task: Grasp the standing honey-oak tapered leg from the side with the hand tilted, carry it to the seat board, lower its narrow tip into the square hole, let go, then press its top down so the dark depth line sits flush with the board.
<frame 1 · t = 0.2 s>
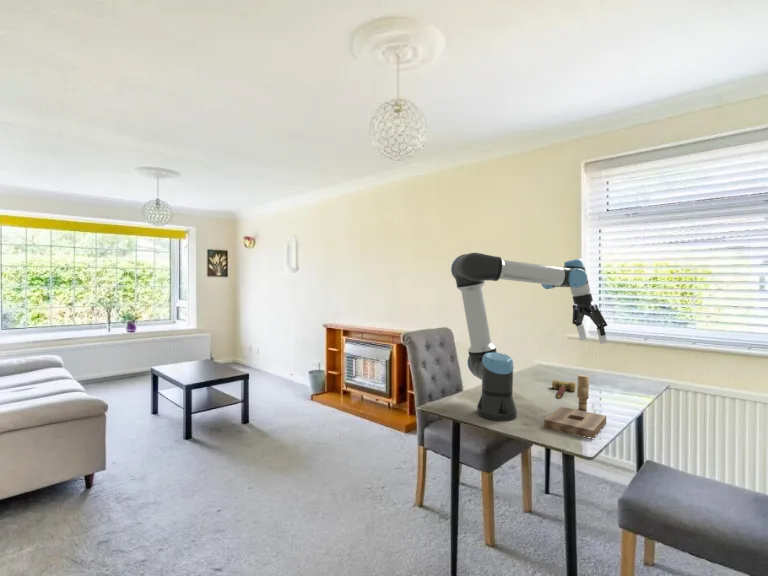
hand: (593, 341, 175), 27 cm above the table, tool tilted 15°, fingers open, 13 cm apart
seat board: (575, 425, 146), on the table
peg: (582, 409, 165), on the table
gavel: (561, 394, 189), on the table
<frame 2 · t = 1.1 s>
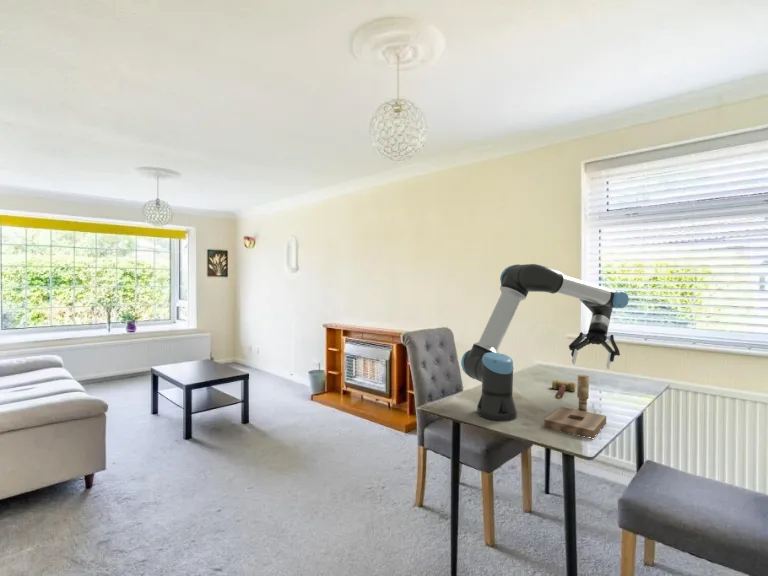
hand: (590, 364, 173), 17 cm above the table, tool tilted 45°, fingers open, 13 cm apart
nothing on the table moved.
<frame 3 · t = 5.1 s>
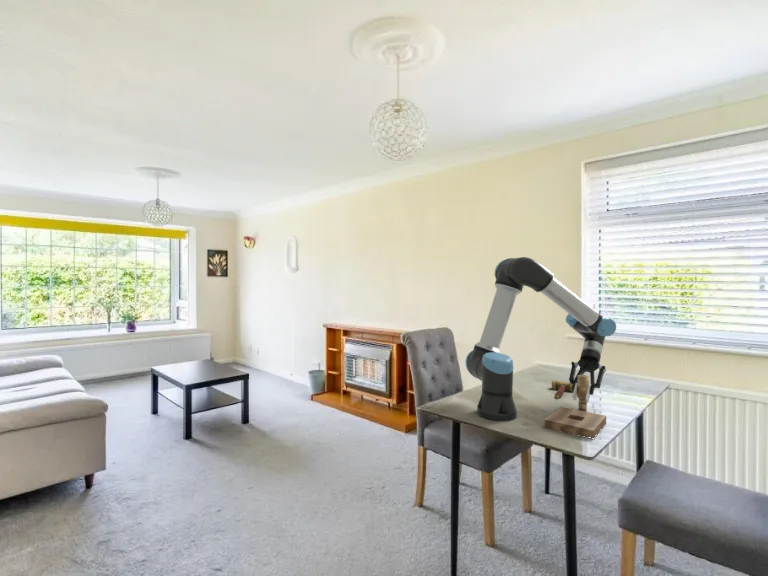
hand: (580, 399, 162), 5 cm above the table, tool tilted 45°, fingers closed on peg, 4 cm apart
peg: (582, 409, 165), on the table, touching gripper
when the fingers open (8 cm above the table, at t = 10.9 s): peg drops 2 cm, resting in seat board.
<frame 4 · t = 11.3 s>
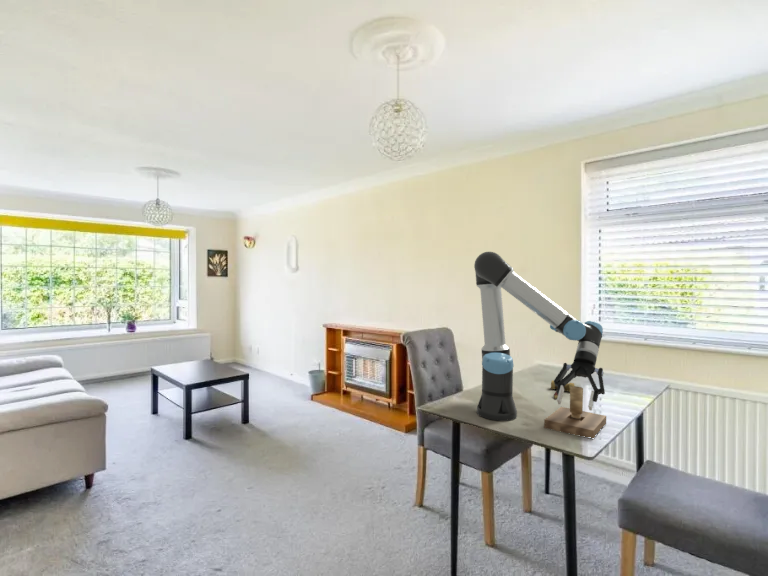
hand: (573, 405, 144), 8 cm above the table, tool tilted 45°, fingers open, 10 cm apart
peg: (575, 425, 146), resting in seat board
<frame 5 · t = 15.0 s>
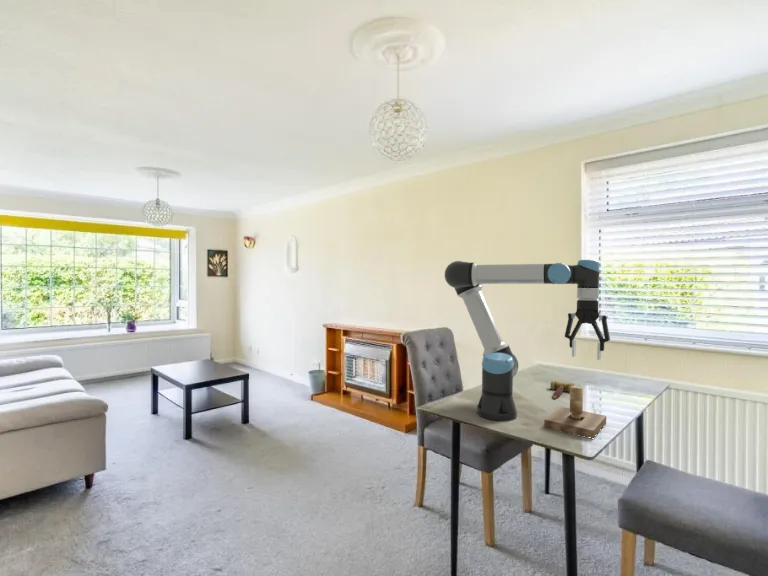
hand: (586, 357, 156), 23 cm above the table, tool pointing down, fingers open, 8 cm apart
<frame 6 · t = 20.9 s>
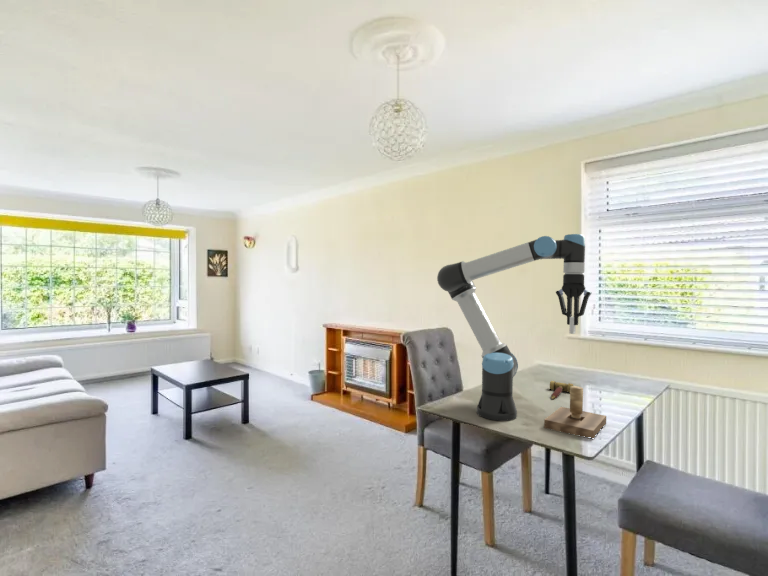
hand: (572, 333, 158), 32 cm above the table, tool pointing down, fingers closed
at the end: peg 0.0 cm off-centre on the seat board, point 0.0 cm above the seat board's base; peg tilted 0°; the gripper is holding nothing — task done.
